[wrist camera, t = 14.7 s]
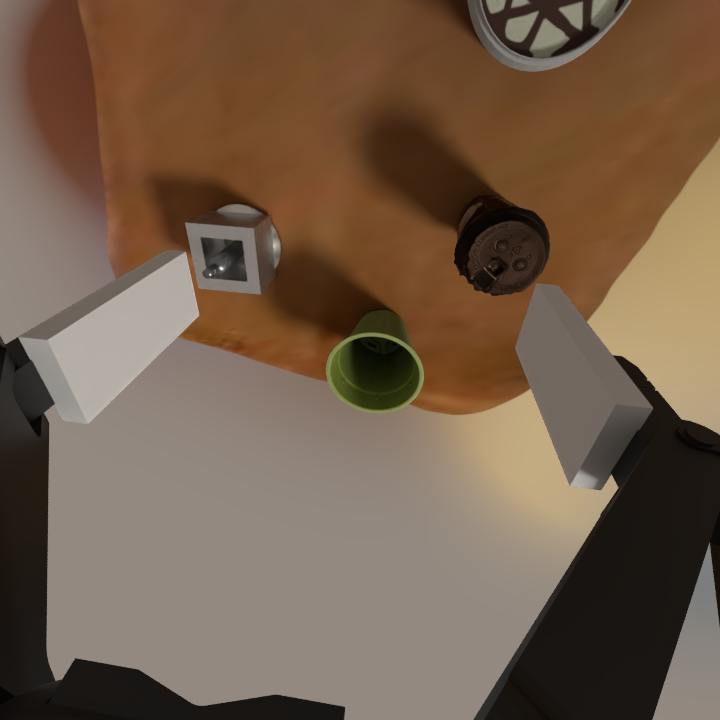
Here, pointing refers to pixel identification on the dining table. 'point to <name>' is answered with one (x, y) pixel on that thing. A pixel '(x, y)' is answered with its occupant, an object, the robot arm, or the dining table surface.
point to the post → (237, 246)
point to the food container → (542, 29)
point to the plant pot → (376, 365)
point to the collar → (210, 240)
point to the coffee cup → (500, 245)
